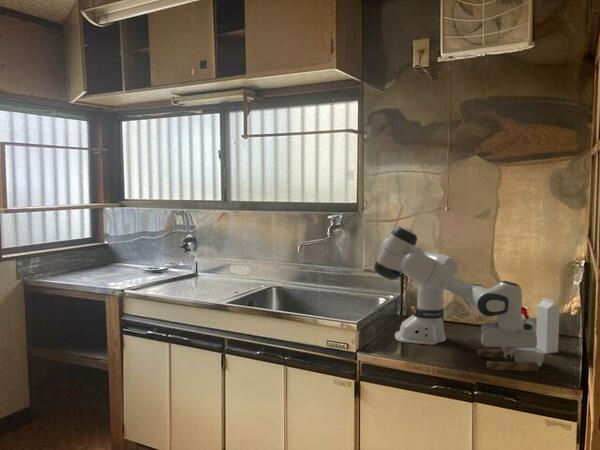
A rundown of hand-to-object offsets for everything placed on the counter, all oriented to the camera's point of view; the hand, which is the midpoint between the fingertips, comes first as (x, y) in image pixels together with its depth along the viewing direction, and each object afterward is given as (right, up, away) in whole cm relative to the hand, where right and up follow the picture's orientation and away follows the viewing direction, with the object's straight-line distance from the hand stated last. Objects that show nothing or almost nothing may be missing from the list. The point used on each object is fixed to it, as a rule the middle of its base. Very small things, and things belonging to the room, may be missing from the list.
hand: (508, 357), depth 193 cm
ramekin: (+8, -2, 0) cm, 8 cm away
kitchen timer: (+19, 0, +28) cm, 33 cm away
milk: (+22, -1, +14) cm, 26 cm away
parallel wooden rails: (0, -2, +1) cm, 2 cm away
